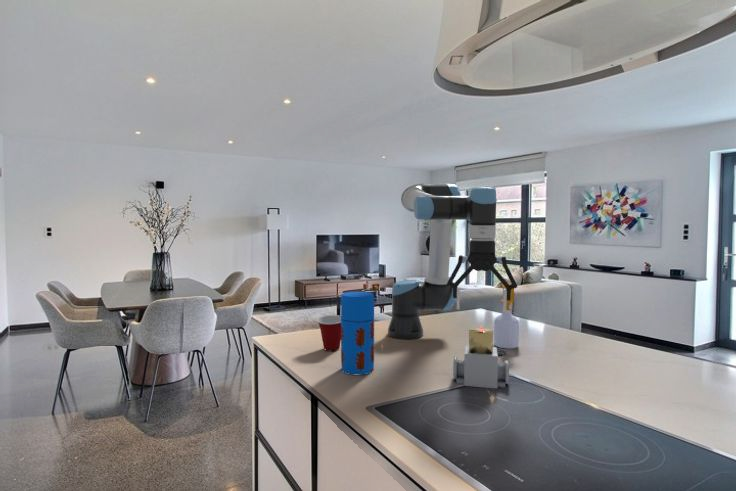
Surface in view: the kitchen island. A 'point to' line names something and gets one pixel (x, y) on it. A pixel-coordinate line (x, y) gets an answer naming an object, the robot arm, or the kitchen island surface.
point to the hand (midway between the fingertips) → (481, 310)
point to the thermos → (357, 332)
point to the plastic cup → (330, 331)
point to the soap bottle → (506, 327)
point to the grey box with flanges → (481, 370)
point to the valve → (481, 340)
